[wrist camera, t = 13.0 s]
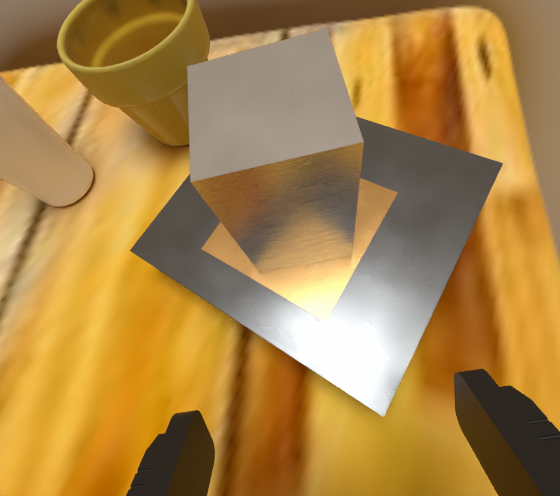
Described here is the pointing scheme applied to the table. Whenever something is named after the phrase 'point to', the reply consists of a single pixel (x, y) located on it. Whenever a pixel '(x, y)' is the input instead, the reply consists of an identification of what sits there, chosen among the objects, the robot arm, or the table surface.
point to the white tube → (38, 154)
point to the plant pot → (138, 58)
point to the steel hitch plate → (342, 264)
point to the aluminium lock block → (277, 150)
